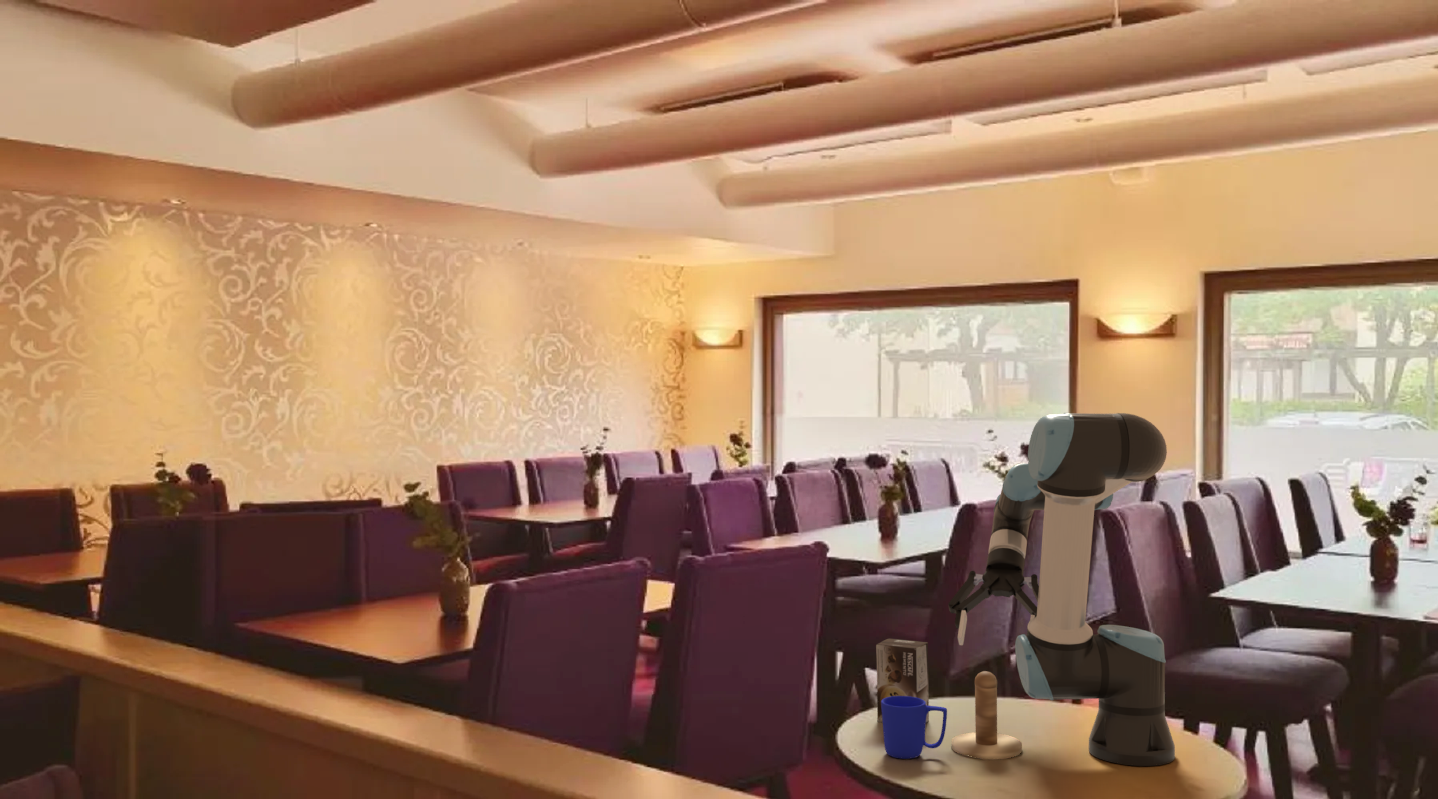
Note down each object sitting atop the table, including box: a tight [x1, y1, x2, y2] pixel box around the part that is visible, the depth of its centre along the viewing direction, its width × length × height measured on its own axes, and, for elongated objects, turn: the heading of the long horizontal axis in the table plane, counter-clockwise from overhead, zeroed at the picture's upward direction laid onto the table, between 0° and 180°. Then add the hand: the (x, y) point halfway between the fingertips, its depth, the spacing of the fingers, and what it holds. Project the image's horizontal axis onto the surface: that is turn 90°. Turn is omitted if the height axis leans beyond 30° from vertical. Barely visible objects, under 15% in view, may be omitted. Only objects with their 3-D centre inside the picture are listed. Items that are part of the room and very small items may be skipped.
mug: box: [881, 696, 948, 760], centre depth 227 cm, size 8×12×10 cm
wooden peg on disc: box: [950, 670, 1023, 760], centre depth 231 cm, size 13×13×15 cm
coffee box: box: [875, 638, 930, 723], centre depth 250 cm, size 9×6×16 cm
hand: (994, 644), depth 241 cm, fingers open, 13 cm apart
